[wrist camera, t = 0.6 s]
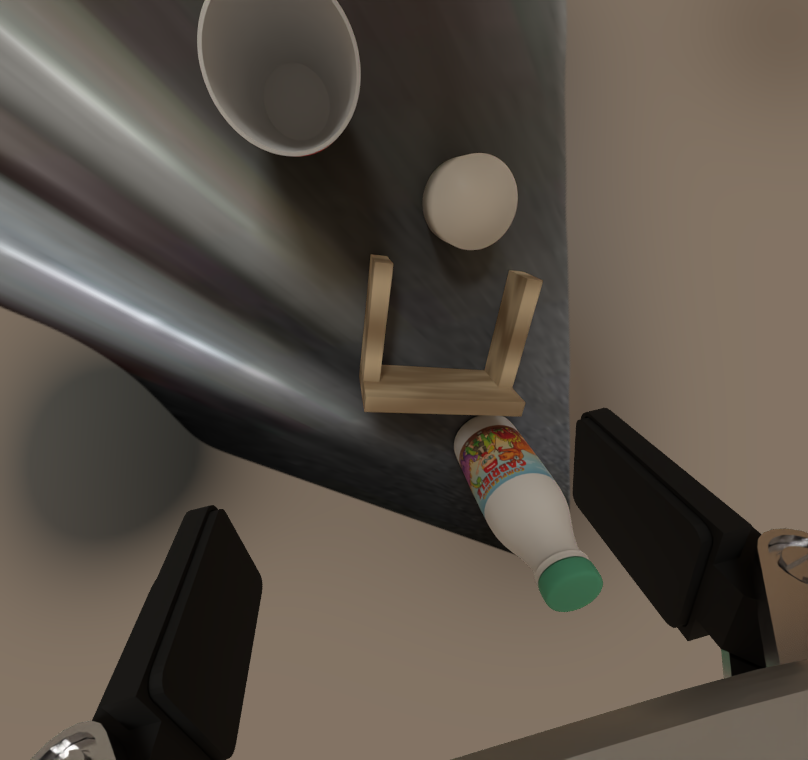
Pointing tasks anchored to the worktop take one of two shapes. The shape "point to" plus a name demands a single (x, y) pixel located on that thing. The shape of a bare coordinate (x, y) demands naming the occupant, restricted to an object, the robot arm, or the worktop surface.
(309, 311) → the worktop surface
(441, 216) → the cream egg shape
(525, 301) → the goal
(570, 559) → the milk bottle
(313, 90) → the cup
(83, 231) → the worktop surface
